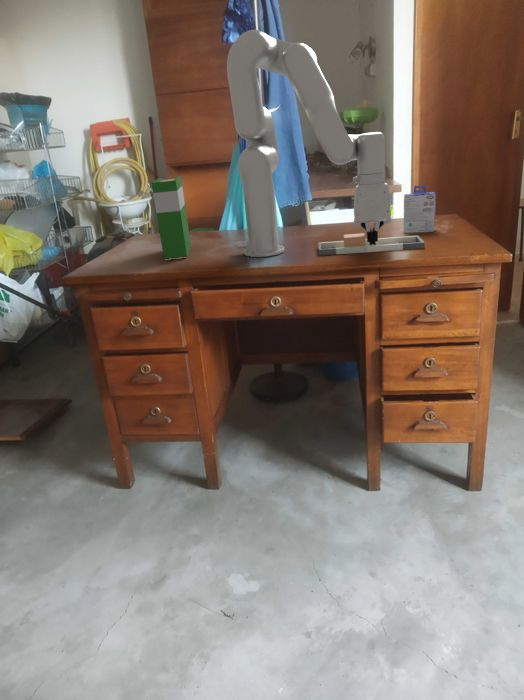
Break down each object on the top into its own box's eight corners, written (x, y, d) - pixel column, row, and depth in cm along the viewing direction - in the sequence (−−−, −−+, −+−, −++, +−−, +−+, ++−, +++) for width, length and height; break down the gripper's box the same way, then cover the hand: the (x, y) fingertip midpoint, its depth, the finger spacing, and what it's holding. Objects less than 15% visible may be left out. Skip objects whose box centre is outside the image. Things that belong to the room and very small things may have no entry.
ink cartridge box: (434, 229, 172) (436, 184, 166) (435, 232, 167) (436, 186, 161) (403, 230, 174) (404, 186, 169) (403, 234, 170) (404, 188, 164)
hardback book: (170, 249, 182) (158, 178, 172) (191, 247, 182) (180, 176, 172) (164, 260, 165) (151, 182, 156) (187, 258, 165) (175, 180, 156)
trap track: (318, 256, 151) (318, 249, 150) (318, 249, 160) (318, 242, 159) (424, 249, 147) (424, 242, 147) (418, 242, 156) (418, 235, 156)
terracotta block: (344, 251, 152) (344, 237, 151) (344, 247, 157) (343, 234, 155) (365, 250, 151) (365, 236, 150) (364, 246, 156) (363, 233, 154)
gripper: (345, 183, 144) (347, 249, 151) (400, 178, 142) (400, 245, 149) (344, 181, 150) (346, 243, 157) (396, 176, 148) (396, 239, 156)
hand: (372, 244), depth 153 cm, fingers closed
